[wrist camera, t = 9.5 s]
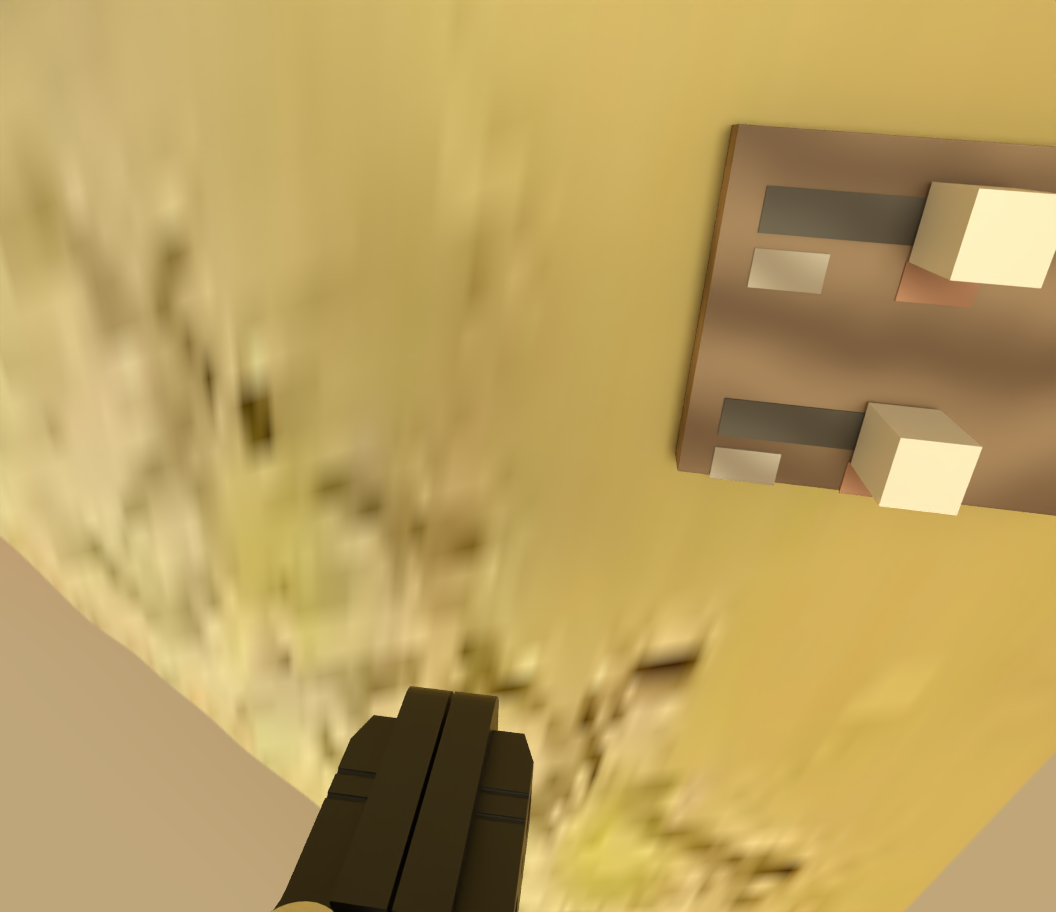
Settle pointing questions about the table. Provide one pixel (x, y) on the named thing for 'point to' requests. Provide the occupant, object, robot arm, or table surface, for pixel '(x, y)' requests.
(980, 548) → the table surface
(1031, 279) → the tab
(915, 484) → the tab
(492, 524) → the table surface
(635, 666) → the table surface
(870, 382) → the switch board
